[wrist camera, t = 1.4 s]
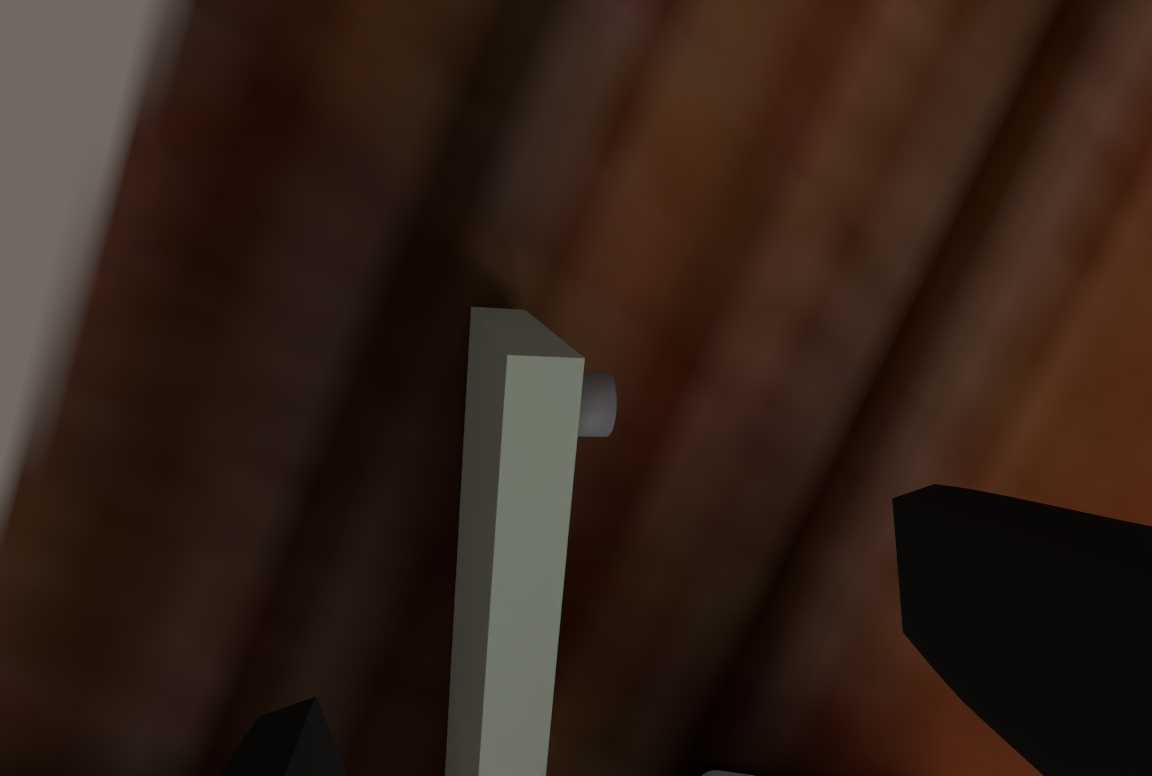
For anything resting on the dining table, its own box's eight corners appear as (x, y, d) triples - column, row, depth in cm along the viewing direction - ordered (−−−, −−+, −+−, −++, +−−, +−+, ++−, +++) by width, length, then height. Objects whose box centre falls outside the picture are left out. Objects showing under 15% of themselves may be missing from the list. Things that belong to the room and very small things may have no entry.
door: (516, 915, 20) (557, 1149, 15) (436, 928, 20) (451, 1175, 15) (568, 312, 16) (646, 360, 11) (471, 306, 16) (507, 355, 11)
